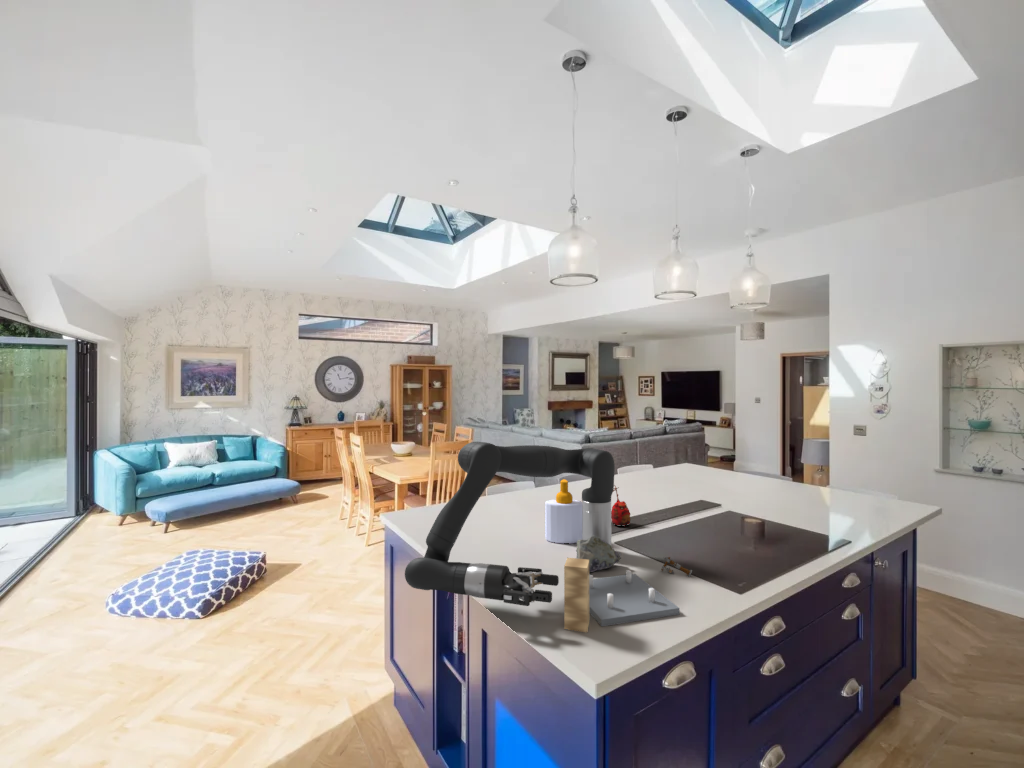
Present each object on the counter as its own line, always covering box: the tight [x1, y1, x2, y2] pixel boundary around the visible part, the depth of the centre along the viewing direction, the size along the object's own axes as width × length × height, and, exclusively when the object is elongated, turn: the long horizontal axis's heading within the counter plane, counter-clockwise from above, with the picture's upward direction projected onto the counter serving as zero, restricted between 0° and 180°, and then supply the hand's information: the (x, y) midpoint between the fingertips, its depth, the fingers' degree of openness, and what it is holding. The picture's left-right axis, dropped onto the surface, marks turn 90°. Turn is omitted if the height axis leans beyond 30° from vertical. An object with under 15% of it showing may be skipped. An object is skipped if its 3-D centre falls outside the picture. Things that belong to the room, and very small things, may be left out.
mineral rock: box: [575, 535, 622, 573], centre depth 133 cm, size 13×11×10 cm
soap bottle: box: [544, 478, 582, 544], centre depth 158 cm, size 13×8×20 cm, turn 84°
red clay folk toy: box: [611, 484, 631, 525], centre depth 175 cm, size 8×7×15 cm
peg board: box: [589, 569, 680, 627], centre depth 114 cm, size 20×20×4 cm
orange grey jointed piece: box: [660, 556, 693, 578], centre depth 130 cm, size 2×8×4 cm, turn 65°
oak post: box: [563, 557, 590, 633], centre depth 102 cm, size 5×5×14 cm
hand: (555, 588), depth 104 cm, fingers open, 8 cm apart
